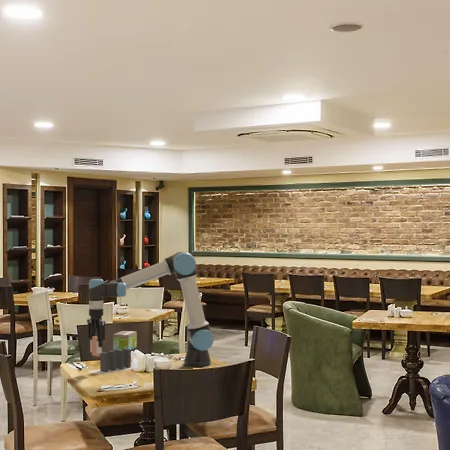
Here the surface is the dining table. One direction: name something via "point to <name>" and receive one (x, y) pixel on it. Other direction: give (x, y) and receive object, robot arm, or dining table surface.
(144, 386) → the dining table surface
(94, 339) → the domino
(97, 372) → the domino mat
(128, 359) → the domino
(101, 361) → the domino
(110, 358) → the domino
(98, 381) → the dining table surface
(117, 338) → the tea box
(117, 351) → the domino
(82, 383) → the dining table surface
